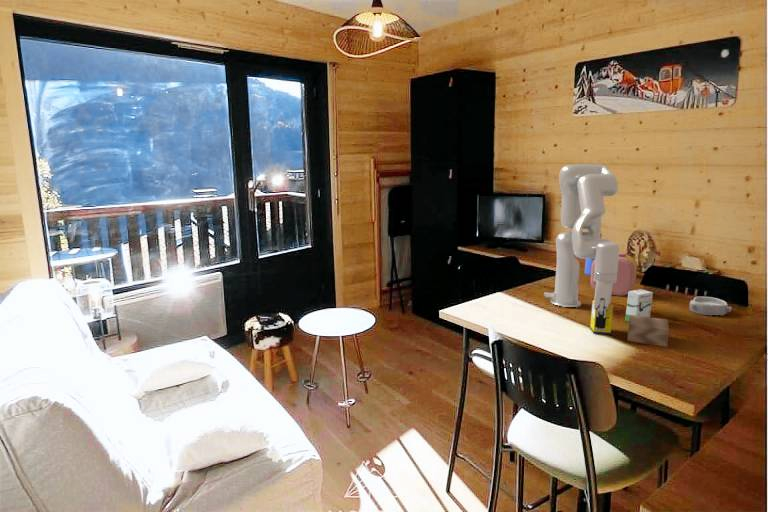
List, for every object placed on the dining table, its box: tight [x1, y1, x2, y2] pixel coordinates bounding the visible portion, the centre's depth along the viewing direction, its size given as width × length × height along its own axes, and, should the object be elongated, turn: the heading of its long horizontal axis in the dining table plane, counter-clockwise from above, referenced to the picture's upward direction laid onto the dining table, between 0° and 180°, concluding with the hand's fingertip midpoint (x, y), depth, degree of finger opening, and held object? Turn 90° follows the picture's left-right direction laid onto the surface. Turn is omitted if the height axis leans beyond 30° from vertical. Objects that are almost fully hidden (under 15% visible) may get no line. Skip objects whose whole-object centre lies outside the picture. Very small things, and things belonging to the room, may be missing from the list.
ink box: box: [624, 289, 654, 323], centre depth 188 cm, size 9×5×12 cm, turn 117°
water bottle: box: [584, 233, 603, 277], centre depth 266 cm, size 9×9×25 cm
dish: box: [688, 296, 733, 317], centre depth 201 cm, size 14×14×5 cm
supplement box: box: [589, 300, 614, 336], centre depth 176 cm, size 6×6×11 cm
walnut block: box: [626, 315, 670, 348], centre depth 170 cm, size 12×12×6 cm
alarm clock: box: [590, 251, 638, 297], centre depth 228 cm, size 18×11×19 cm, turn 58°
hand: (600, 324), depth 177 cm, fingers closed on supplement box, 7 cm apart
